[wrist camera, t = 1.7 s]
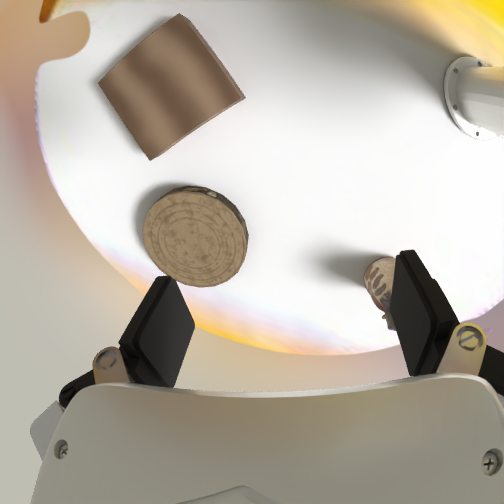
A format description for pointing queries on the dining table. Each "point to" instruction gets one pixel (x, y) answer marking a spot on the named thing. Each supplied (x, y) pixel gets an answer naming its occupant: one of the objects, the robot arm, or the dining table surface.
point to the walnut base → (169, 86)
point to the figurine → (381, 286)
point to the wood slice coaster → (196, 236)
